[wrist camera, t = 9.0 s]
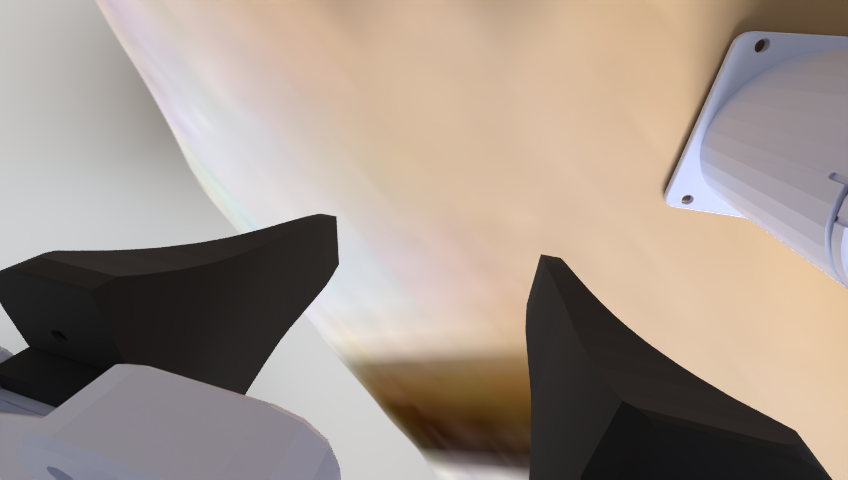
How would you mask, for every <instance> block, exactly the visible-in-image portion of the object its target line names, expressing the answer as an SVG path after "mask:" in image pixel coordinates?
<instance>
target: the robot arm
mask: <svg viewBox="0 0 848 480" xmlns="http://www.w3.org/2000/svg"><path fill="white" fill-rule="evenodd" d="M761 39H762V40H764V42H765V45H764V47H763V49H762V50H761V51H759V52H756V51H755V49H754V48H755V45H756V43H757V42H758V41H759V40H761ZM686 195H690V199H689V200H688V201H686V202H681V201H682V198H683V197H684V196H686ZM664 201H665V202H666V203H667V204H668V205H669V206H672V207H677V208H684V209H690V210H697V211H703V212H710V213H716V214H723V215H729V216H736V217H742V218H748V219H749V220H751V221H752V222H753V223H755V224H756V225H758V226H759V227H760V228H762V229H763V230H765V231H766V232H768V233H769V234H770V235H772V236H773V237H775V238H776V239H777V240H779V241H780V242H782V243H783V244H785V245H786V246H787V247H789V248H790V249H792V250H793V251H794V252H796V253H797V254H799V255H800V256H802V257H803V258H804V259H806V260H807V261H809V262H810V263H811V264H813V265H814V266H816V267H817V268H819V269H820V270H821V271H823V272H824V273H826V274H827V275H828V276H830V277H831V278H833V279H834V280H836V281H837V282H838V283H840V284H841V285H843V286H844V287H845V288H847V289H848V37H847V36H830V35H813V34H797V33H780V32H763V31H751V32H745V33H742V34H740V35H739V36H738V37H736V38H735V39H734V41H733V42H732V44H731V46H730V48H729V50H728V52H727V55H726V57H725V59H724V61H723V64H722V66H721V68H720V70H719V73H718V75H717V77H716V79H715V82H714V84H713V86H712V88H711V91H710V93H709V95H708V97H707V100H706V102H705V104H704V106H703V108H702V111H701V113H700V115H699V117H698V120H697V122H696V124H695V126H694V129H693V131H692V133H691V135H690V138H689V140H688V142H687V144H686V147H685V149H684V151H683V153H682V156H681V158H680V160H679V162H678V165H677V167H676V169H675V171H674V174H673V176H672V178H671V180H670V182H669V185H668V187H667V189H666V191H665V194H664ZM338 265H339V258H338V239H337V221H336V216H330V215H325V214H316V215H311V216H307V217H303V218H299V219H296V220H292V221H289V222H285V223H282V224H278V225H275V226H271V227H268V228H264V229H260V230H257V231H253V232H249V233H245V234H241V235H237V236H233V237H229V238H223V239H218V240H212V241H207V242H201V243H194V244H186V245H179V246H170V247H161V248H148V249H135V250H112V251H111V250H110V251H52V252H47V253H44V254H41V255H38V256H36V257H33V258H31V259H28V260H26V261H23V262H21V263H18V264H16V265H13V266H11V267H8V268H6V269H3V270H1V271H0V303H1V304H2V306H3V308H4V310H5V311H6V313H7V314H8V316H9V317H10V319H11V320H12V321H13V323H14V324H15V326H16V328H17V329H18V331H19V332H20V333H21V335H22V336H23V338H24V339H25V341H26V342H27V344H28V345H29V346H30V347H28V348H26V349H25V350H23V351H21V352H19V353H18V354H16V355H13V354H12V353H11V352H9V351H8V350H7V349H5V348H2V347H0V480H341V477H340V468H339V465H338V462H337V459H336V457H335V455H334V453H333V450H332V448H331V446H330V444H329V442H328V440H327V439H326V438H325V437H324V436H323V435H322V434H320V432H319V431H317V430H316V429H315V428H314V427H313V426H312V425H311V424H310V423H309V422H307V421H306V420H305V419H304V418H302V417H300V416H298V415H296V414H293V413H291V412H289V411H287V410H285V409H283V408H281V407H279V406H276V405H274V404H271V403H268V402H265V401H261V400H258V399H255V398H252V397H248V396H245V394H246V392H247V391H248V389H249V387H250V386H251V384H252V382H253V381H254V379H255V378H256V376H257V375H258V373H259V372H260V370H261V368H262V367H263V365H264V364H265V362H266V361H267V359H268V357H269V356H270V355H271V353H272V352H273V350H274V349H275V347H276V346H277V344H278V343H279V342H280V340H281V339H282V337H283V336H284V335H285V334H286V332H287V331H288V330H289V328H290V327H291V326H292V325H293V324H294V322H295V321H296V320H297V319H298V318H299V317H300V316H301V314H302V313H303V312H304V311H305V310H306V309H307V307H308V306H309V305H310V304H311V303H312V302H313V300H314V299H315V298H316V297H317V296H318V294H319V293H320V292H321V291H322V290H323V288H324V287H325V286H326V285H327V283H328V282H329V280H330V278H331V277H332V275H333V274H334V272H335V270H336V268H337V267H338ZM526 342H527V354H528V365H529V376H530V387H531V445H530V474H529V480H832V479H831V477H830V476H829V475H828V473H827V472H826V471H825V469H824V468H823V467H822V465H821V464H820V463H819V461H818V460H817V459H816V457H815V456H814V455H813V453H812V452H811V451H810V449H809V448H808V447H807V445H806V444H805V443H804V441H803V440H802V439H801V437H800V436H799V435H798V433H797V432H796V431H795V430H793V429H791V428H789V427H787V426H785V425H783V424H782V423H780V422H778V421H776V420H774V419H772V418H770V417H768V416H766V415H765V414H763V413H761V412H759V411H757V410H755V409H753V408H751V407H749V406H747V405H746V404H744V403H742V402H740V401H738V400H736V399H734V398H732V397H731V396H729V395H727V394H725V393H724V392H722V391H720V390H719V389H717V388H715V387H714V386H712V385H710V384H709V383H707V382H705V381H704V380H702V379H700V378H699V377H697V376H695V375H694V374H692V373H691V372H689V371H688V370H686V369H684V368H683V367H681V366H680V365H678V364H677V363H675V362H674V361H672V360H671V359H670V358H668V357H667V356H665V355H664V354H662V353H661V352H660V351H658V350H657V349H655V348H654V347H652V346H651V345H650V344H648V343H647V342H646V341H644V340H643V339H642V338H641V337H639V336H638V335H637V334H636V333H635V332H633V331H632V330H631V329H630V328H628V327H627V326H626V325H625V324H624V323H622V322H621V321H620V320H619V319H618V318H617V317H616V316H615V315H613V314H612V313H611V312H610V311H609V310H608V309H607V308H606V307H605V306H604V305H603V304H602V303H601V302H600V301H599V300H598V299H597V298H596V297H595V296H594V295H593V294H592V293H591V292H590V291H589V289H588V288H587V287H586V286H585V285H584V284H583V283H582V282H581V280H580V279H579V278H578V277H577V276H576V275H575V274H574V272H573V271H572V270H571V269H570V268H569V267H568V265H567V264H566V263H565V262H564V261H563V260H562V259H561V258H558V257H552V256H547V255H541V256H540V260H539V263H538V267H537V270H536V274H535V277H534V281H533V284H532V288H531V292H530V295H529V299H528V302H527V311H526Z"/></svg>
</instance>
